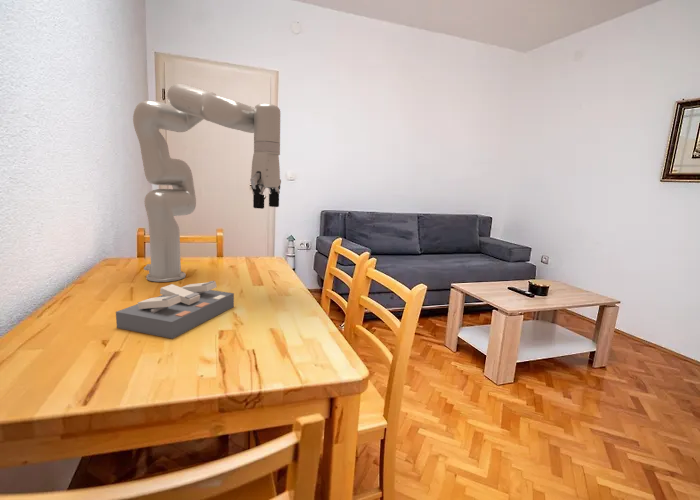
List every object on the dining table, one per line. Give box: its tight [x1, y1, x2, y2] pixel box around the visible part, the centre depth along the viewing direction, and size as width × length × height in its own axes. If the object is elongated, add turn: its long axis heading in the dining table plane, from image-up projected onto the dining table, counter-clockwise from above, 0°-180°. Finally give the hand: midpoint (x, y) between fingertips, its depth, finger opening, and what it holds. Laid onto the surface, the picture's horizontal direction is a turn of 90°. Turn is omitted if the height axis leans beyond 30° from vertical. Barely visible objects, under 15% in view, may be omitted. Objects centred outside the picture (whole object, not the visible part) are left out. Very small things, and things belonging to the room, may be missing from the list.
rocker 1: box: [137, 294, 181, 309], centre depth 89 cm, size 9×4×2 cm, turn 74°
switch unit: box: [115, 289, 235, 340], centre depth 96 cm, size 16×24×5 cm, turn 164°
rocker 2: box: [159, 283, 200, 305], centre depth 96 cm, size 9×4×2 cm, turn 74°
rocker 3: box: [181, 280, 218, 292], centre depth 102 cm, size 9×4×2 cm, turn 74°
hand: (266, 207), depth 111 cm, fingers open, 9 cm apart
